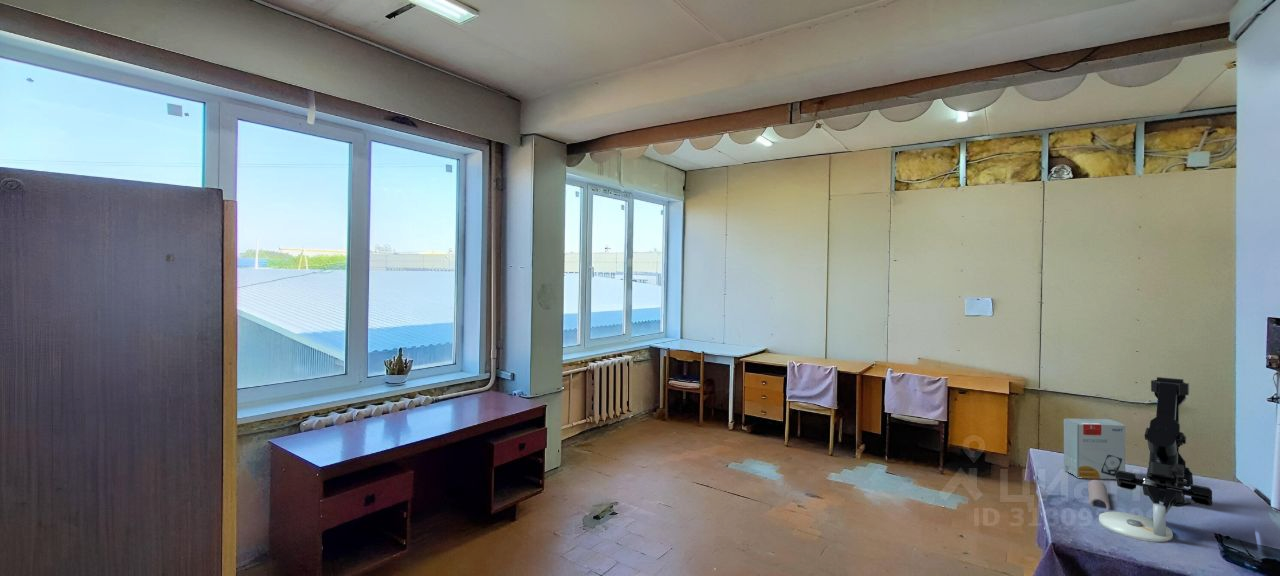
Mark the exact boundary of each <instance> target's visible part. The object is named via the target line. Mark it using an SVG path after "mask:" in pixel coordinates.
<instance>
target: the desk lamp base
mask: <svg viewBox="0 0 1280 576" xmlns="http://www.w3.org/2000/svg"><path fill="white" fill-rule="evenodd" d="M1166 515H1167V513H1166V508H1165V506H1164V505H1163V504H1161V503H1159V504H1153V503H1152V517H1153V519H1152V518H1149V517H1146V516H1142V515H1138V514H1134V513H1130V512H1123V511H1105V512H1102V513H1100V514H1099V515H1098V522H1099V523H1100V524H1101V526H1102V527H1104V528H1106V529H1107V530H1109V531H1111V532H1113V533H1116V534H1118V535H1120V536H1124V537H1126V538H1131V539H1135V540H1139V541H1143V542H1152V543H1166V542H1169V541H1172V540H1173V537H1174V535H1173V531H1172V529H1171V528H1169V527H1168V526H1167V523H1166V522H1167V520H1166V519H1167V517H1166Z"/></svg>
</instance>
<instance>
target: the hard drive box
mask: <svg viewBox="0 0 1280 576" xmlns="http://www.w3.org/2000/svg"><path fill="white" fill-rule="evenodd" d="M1064 470H1065V471H1064ZM1119 470H1120V471H1125V472H1126V424H1123V423H1121V422H1119V421H1116V420H1114V419H1113V420H1112V419H1111V418H1110V419H1109V418H1063V471H1064V472H1066V471H1067V472H1066V473H1068V472H1069V473H1071V474H1073V475H1074V476H1076V477H1082V478H1081V479H1086V478H1087V479H1086V480H1111V479H1116V472H1117V471H1119ZM1069 473H1068V474H1069ZM1071 474H1070V475H1071ZM1073 475H1072V476H1073ZM1074 476H1073V477H1074ZM1076 477H1075V478H1076Z"/></svg>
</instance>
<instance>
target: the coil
mask: <svg viewBox="0 0 1280 576" xmlns="http://www.w3.org/2000/svg"><path fill="white" fill-rule="evenodd" d="M1087 490H1088V498H1089V499H1088V501H1089V505H1090V506H1091V507H1094V506H1095V504H1094V502H1095V501H1102V502H1103V503H1104V505H1105V506H1104V507H1105V510H1107V511H1110V510H1111V506H1110V499H1109V494H1108V489H1107V486H1106V484H1105V483H1104V482H1102V481H1101V480H1100V479H1090V481H1088V483H1087Z"/></svg>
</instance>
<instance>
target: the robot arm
mask: <svg viewBox="0 0 1280 576" xmlns="http://www.w3.org/2000/svg"><path fill="white" fill-rule="evenodd" d="M1150 390H1151V391H1150V392H1153V393H1154V396H1155V398H1156V399H1157V401H1156V402H1157V405H1156V416H1155V417H1154V418H1152V419H1150V421H1149V427H1146V429H1145V432H1144V439H1145V440H1146V442H1147V447H1148V450H1149V461H1148V467H1147V471H1146V472H1147V473H1146V474H1147V475H1146V476H1147V477H1146V478H1138V477H1137V476H1136V473H1134V472H1131V471H1130V472H1129V471H1126V470H1125V471H1120V470H1119V471H1117V472H1116V480H1115V481H1116V485H1117V487H1119V488H1121V489H1125V490H1130V491H1133V490H1136V489H1137V486H1139V487H1142V491H1143V495H1144V496H1147V497H1149V499H1150V500H1151V502H1152V505H1153V504H1160V502H1163V503H1162V505H1164V506H1165V508H1166V514H1168V512H1169V510H1171V508H1172V507H1173V506H1176V507H1179V506H1184V505H1190V504H1191V501H1192V502H1193V503H1194V504H1198V505H1202V506H1206V507H1212V506H1213V490H1212V489H1211V488H1210V487H1209V486H1203V485H1198V484H1194V479H1193V478H1194V477H1193V473H1192V472H1191V470H1190V467H1187V462H1186V460H1185V459H1184V458H1183V456H1182V455H1181V453H1180V448H1181V446H1183V445H1185V444H1187V436H1185V434H1184V432H1183V431H1182V432H1181V425H1180V407H1181V406H1182V404H1183V403H1185V402H1186V400H1187V396H1189V395H1190V383H1189V382H1185V381H1184V379H1183V378H1171V377H1162V376H1161V377H1159V376H1157V377H1156V379H1151V380H1150ZM1147 478H1148V479H1147ZM1185 496H1188V497H1190V500H1191V501H1189V500H1186V499H1185Z"/></svg>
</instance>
